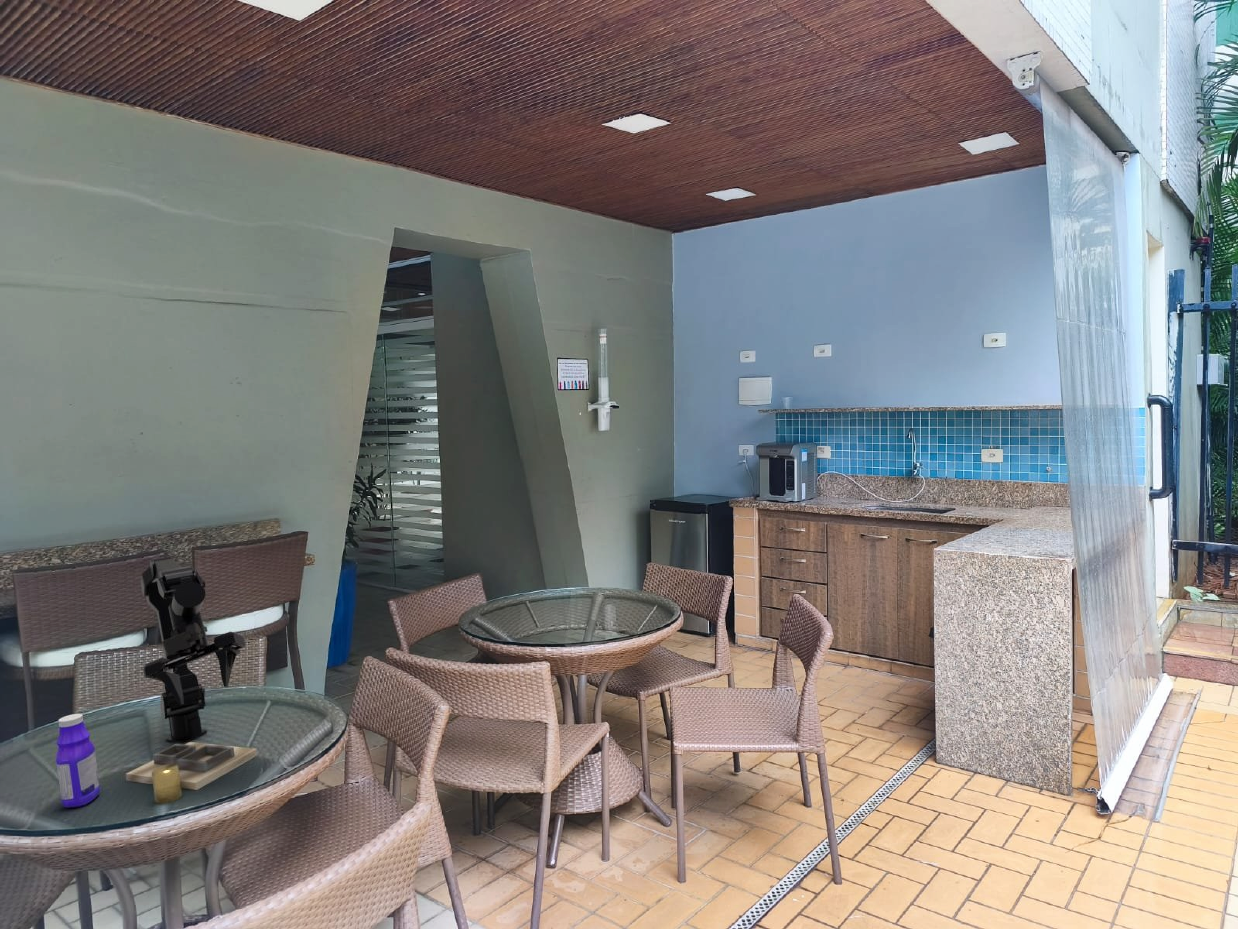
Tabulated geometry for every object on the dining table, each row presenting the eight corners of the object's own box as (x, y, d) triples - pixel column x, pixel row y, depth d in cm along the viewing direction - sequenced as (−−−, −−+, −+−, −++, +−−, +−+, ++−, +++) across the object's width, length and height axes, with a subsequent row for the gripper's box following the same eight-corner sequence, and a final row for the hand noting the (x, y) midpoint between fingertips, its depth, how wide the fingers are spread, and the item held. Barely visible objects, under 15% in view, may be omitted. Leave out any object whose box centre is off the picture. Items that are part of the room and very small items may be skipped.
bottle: (77, 794, 171) (65, 712, 169) (106, 791, 171) (94, 709, 170) (56, 811, 164) (44, 726, 162) (87, 808, 164) (74, 722, 163)
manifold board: (126, 780, 175) (124, 764, 175) (190, 748, 190) (188, 733, 190) (196, 790, 168) (194, 773, 168) (257, 755, 183) (255, 740, 182)
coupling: (150, 802, 164) (146, 773, 164) (170, 791, 168) (166, 763, 168) (167, 805, 162) (163, 775, 162) (187, 794, 167) (183, 765, 166)
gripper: (122, 635, 167) (136, 710, 162) (214, 600, 170) (231, 673, 164) (151, 643, 178) (166, 714, 172) (237, 610, 180) (254, 679, 175)
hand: (203, 695), depth 171 cm, fingers open, 9 cm apart
